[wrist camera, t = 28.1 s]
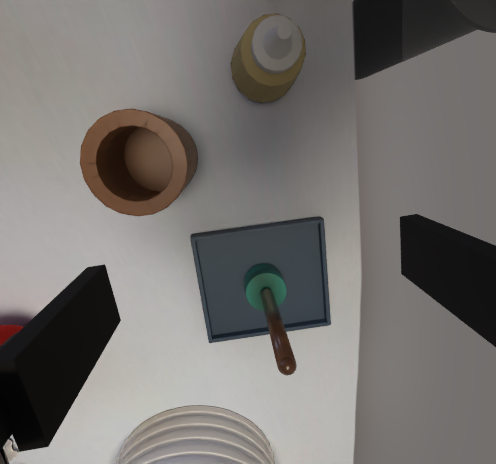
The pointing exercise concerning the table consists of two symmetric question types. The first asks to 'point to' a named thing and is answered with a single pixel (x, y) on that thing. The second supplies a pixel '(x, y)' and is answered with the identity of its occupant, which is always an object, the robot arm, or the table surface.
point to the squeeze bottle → (268, 58)
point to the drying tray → (255, 252)
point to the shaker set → (9, 450)
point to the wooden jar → (137, 161)
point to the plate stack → (196, 439)
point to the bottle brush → (271, 309)
